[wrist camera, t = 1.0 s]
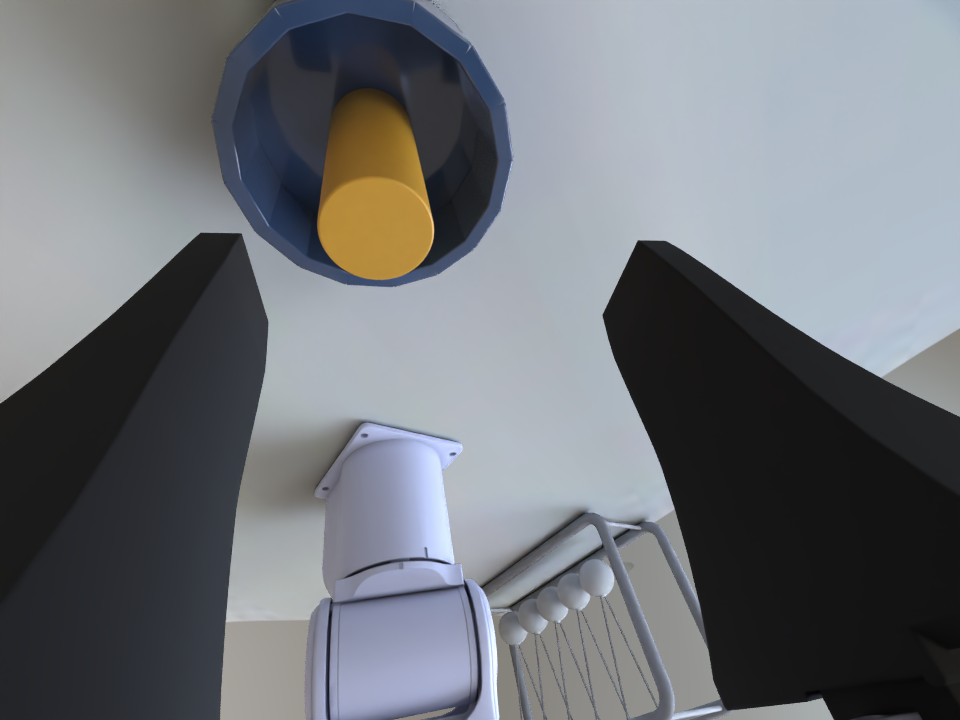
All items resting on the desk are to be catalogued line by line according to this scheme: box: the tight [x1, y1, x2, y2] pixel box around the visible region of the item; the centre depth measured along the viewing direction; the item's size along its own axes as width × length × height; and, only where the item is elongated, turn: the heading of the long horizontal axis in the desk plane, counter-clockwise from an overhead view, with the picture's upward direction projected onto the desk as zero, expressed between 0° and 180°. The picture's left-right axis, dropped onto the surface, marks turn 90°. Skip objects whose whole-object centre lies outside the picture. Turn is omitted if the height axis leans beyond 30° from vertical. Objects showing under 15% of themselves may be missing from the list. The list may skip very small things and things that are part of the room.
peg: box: [317, 88, 434, 280], centre depth 14 cm, size 3×3×8 cm
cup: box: [212, 0, 513, 287], centre depth 15 cm, size 12×9×4 cm
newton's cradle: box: [481, 513, 734, 720], centre depth 50 cm, size 30×10×18 cm, turn 146°
